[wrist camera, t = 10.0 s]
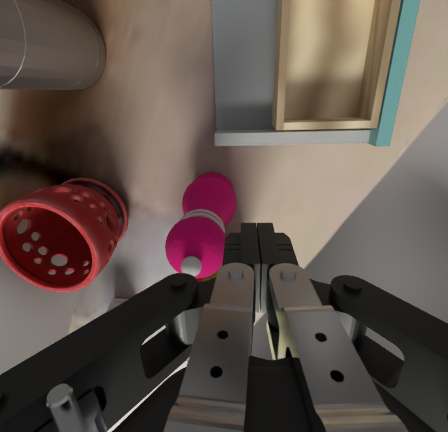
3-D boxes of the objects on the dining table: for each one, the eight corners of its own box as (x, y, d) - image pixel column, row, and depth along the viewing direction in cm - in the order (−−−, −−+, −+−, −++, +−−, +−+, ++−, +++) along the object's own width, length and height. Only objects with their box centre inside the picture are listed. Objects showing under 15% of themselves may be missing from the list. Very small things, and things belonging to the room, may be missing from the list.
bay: (217, 140, 38) (213, 149, 33) (211, -25, 31) (204, -51, 25) (367, 137, 37) (389, 146, 31) (398, -37, 29) (434, -66, 24)
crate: (271, 125, 36) (276, 130, 31) (277, -10, 30) (283, -28, 26) (359, 123, 35) (377, 128, 31) (382, -16, 29) (407, -35, 25)
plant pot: (63, 154, 40) (-3, 178, 29) (147, 197, 42) (114, 234, 31) (43, 225, 45) (-20, 267, 34) (118, 259, 47) (81, 310, 36)
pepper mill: (189, 166, 40) (145, 229, 22) (239, 171, 40) (237, 239, 22) (187, 212, 43) (147, 302, 25) (234, 217, 43) (228, 310, 24)
